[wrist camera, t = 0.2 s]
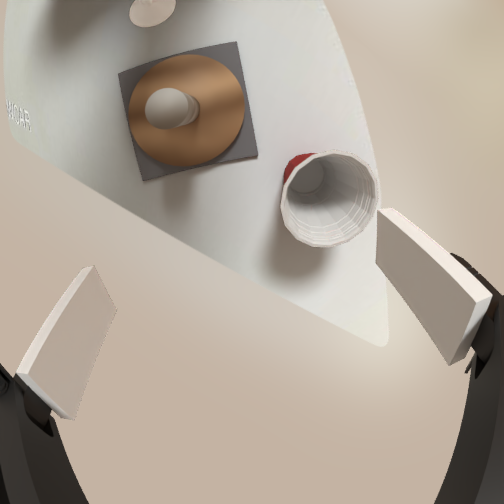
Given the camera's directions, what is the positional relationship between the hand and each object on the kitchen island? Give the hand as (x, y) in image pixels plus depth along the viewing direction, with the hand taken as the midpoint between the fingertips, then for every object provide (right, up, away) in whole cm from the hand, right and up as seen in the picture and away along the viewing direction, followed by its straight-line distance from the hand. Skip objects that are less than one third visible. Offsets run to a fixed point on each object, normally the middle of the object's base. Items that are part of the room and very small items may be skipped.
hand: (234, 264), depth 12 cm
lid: (-8, +19, +19) cm, 28 cm away
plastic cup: (+8, +11, +26) cm, 29 cm away
